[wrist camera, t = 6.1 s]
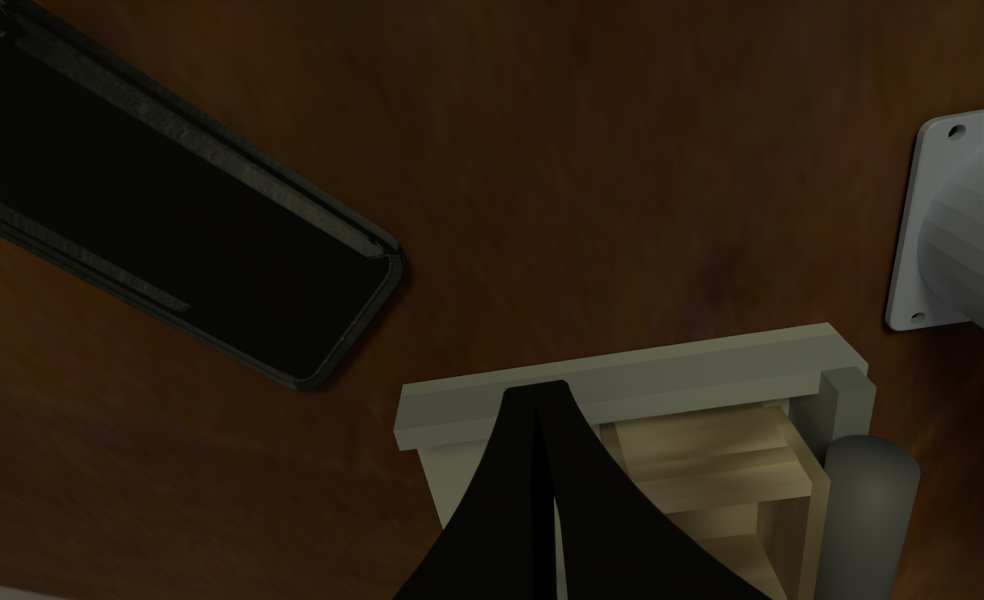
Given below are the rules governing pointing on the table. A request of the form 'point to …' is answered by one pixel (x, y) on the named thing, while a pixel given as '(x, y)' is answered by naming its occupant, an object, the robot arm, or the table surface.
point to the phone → (177, 208)
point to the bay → (694, 386)
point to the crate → (733, 488)
